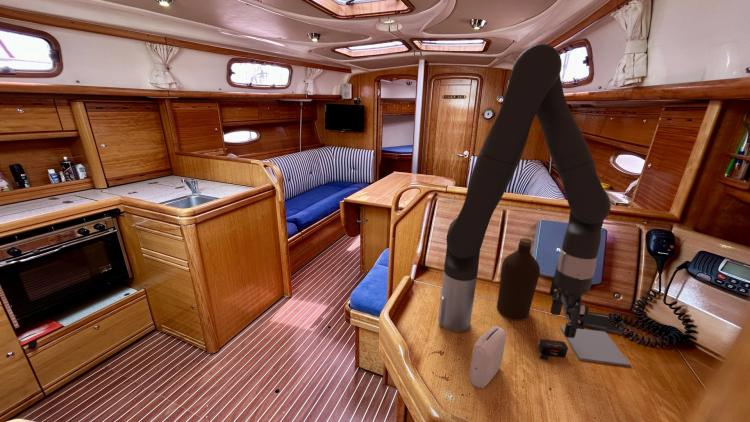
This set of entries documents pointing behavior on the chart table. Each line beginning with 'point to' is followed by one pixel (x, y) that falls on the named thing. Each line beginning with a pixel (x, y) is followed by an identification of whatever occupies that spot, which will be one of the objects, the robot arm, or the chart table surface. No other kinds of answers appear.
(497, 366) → the photo printer
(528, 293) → the olive oil
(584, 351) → the mat
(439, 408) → the chart table surface
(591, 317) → the phone
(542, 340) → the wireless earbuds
